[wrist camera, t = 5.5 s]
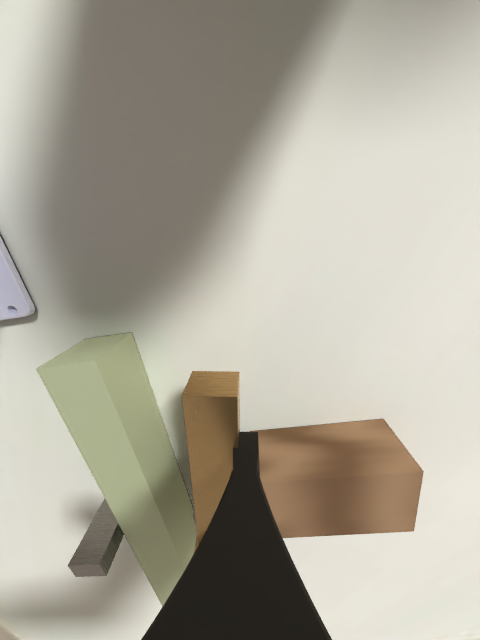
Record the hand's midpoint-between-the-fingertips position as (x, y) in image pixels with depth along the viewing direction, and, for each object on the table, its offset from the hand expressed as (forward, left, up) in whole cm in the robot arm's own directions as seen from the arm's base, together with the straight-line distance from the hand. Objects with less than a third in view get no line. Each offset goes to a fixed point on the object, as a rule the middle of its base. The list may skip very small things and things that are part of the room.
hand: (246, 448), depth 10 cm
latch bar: (-2, -2, -1) cm, 3 cm away
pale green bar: (-8, -6, -5) cm, 11 cm away
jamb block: (+4, -6, -5) cm, 9 cm away
